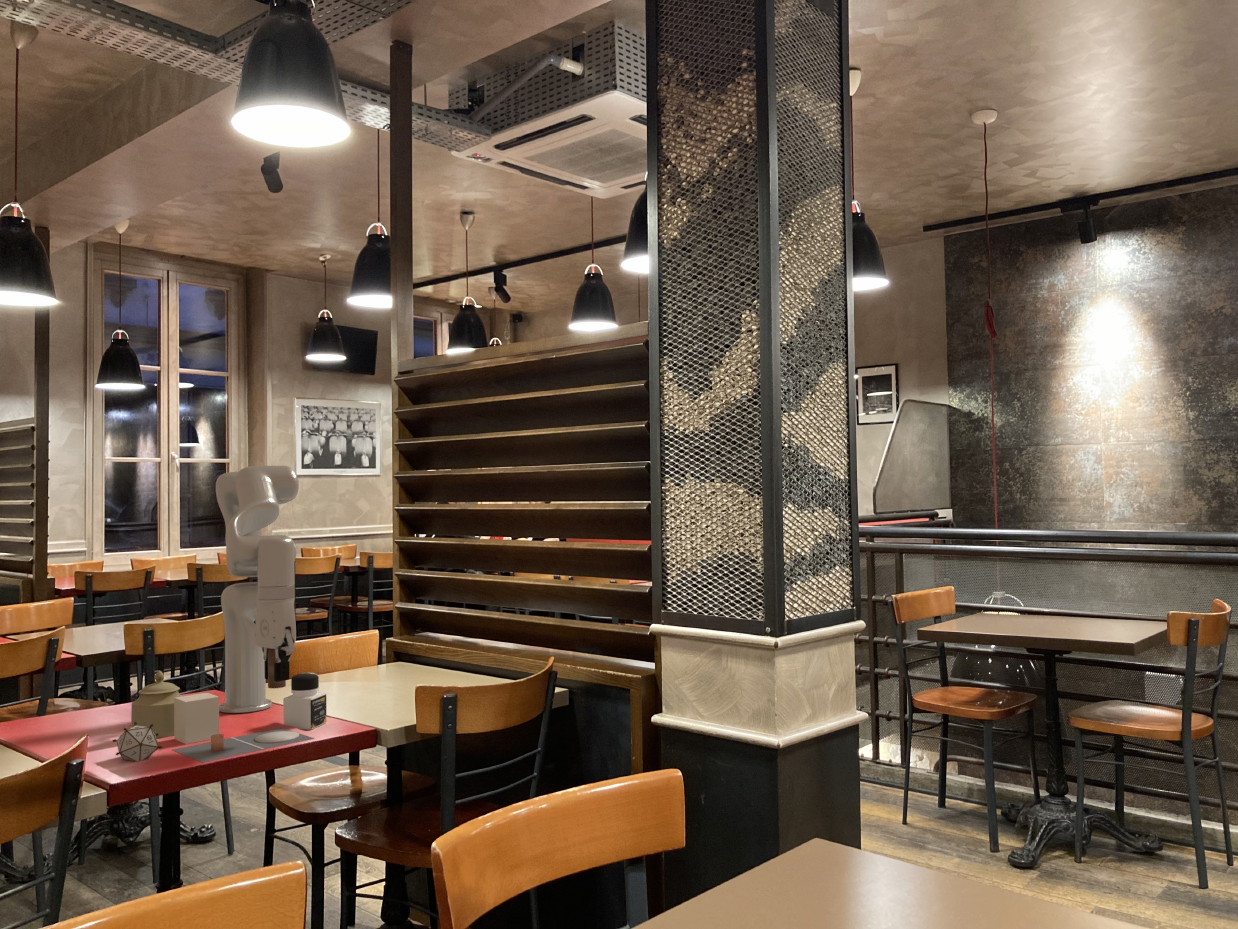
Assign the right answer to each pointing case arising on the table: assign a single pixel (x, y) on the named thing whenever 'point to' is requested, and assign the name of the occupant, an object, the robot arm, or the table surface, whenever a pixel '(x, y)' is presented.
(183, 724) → the block
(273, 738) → the board
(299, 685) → the medicine bottle
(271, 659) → the walnut pin
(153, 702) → the sugar bowl
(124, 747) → the game die
